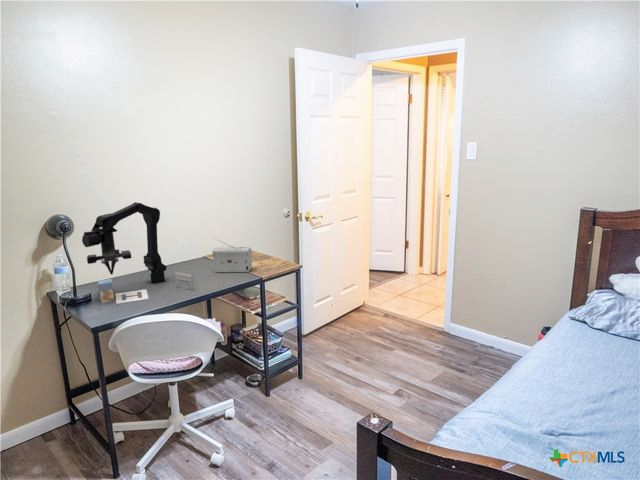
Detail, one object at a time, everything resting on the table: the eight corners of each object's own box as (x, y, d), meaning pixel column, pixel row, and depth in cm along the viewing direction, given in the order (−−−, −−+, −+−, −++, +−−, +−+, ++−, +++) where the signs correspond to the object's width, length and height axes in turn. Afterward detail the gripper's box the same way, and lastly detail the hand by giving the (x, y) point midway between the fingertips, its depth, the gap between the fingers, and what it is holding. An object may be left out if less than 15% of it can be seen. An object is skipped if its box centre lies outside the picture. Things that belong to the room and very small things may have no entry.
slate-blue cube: (113, 290, 223) (111, 278, 222) (113, 294, 218) (111, 282, 217) (99, 292, 221) (98, 280, 220) (99, 296, 216) (98, 284, 214)
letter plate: (146, 290, 223) (146, 289, 223) (148, 299, 210) (148, 298, 210) (115, 294, 217) (115, 293, 217) (116, 304, 205) (116, 303, 204)
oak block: (112, 298, 212) (111, 289, 211) (114, 302, 208) (113, 292, 207) (100, 301, 209) (99, 291, 208) (102, 304, 205) (101, 294, 204)
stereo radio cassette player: (252, 268, 256) (250, 234, 251) (250, 273, 248) (248, 238, 243) (216, 268, 256) (213, 235, 251) (212, 273, 248) (210, 238, 243)
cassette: (195, 289, 223) (193, 275, 221) (192, 291, 221) (191, 276, 219) (178, 285, 229) (176, 271, 227) (175, 287, 227) (174, 272, 225)
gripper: (85, 249, 197) (90, 282, 201) (130, 243, 205) (134, 275, 209) (85, 243, 207) (89, 275, 211) (128, 238, 215) (132, 269, 219)
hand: (111, 274), depth 212 cm, fingers closed
